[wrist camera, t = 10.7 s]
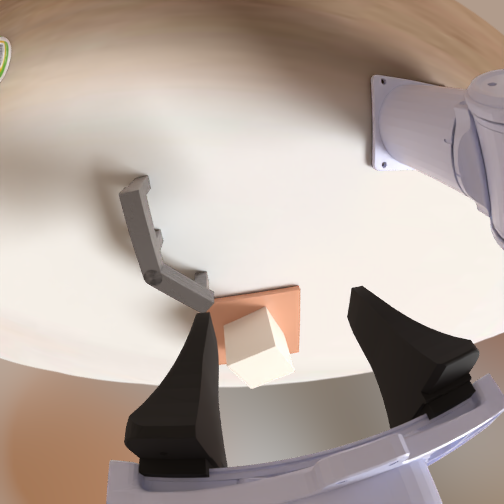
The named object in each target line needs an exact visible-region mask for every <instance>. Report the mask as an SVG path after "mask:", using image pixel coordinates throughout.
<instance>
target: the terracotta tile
mask: <svg viewBox="0 0 504 504" xmlns="http://www.w3.org/2000/svg"><path fill="white" fill-rule="evenodd" d="M265 306H266V308H267V309H268V311H269V312H270V314H271V315H272V317H273V318H274V320H275V321H276V323H277V324H278V326H279V327H280V329H281V330H282V332H283V333H284V336H285V339H286V342H287V346H288V349H289V353H290V354H292V353H297V352H299V332H300V288H299V286H294V287H288V288H282V289H276V290H269V291H263V292H256V293H250V294H243V295H236V296H229V297H222V298H215V299H214V304H213V305H212V306H211V307H210V308H209V309H208V310H207V312H210V315H211V319H212V323H213V327H214V331H215V335H216V338H217V345H218V355H219V365H221V364H227V362H226V350H225V338H224V325H226V324H228V323H231V322H233V321H235V320H237V319H239V318H242V317H244V316H246V315H248V314H250V313H253V312H255V311H257V310H259V309H261V308H263V307H265Z"/></svg>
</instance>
